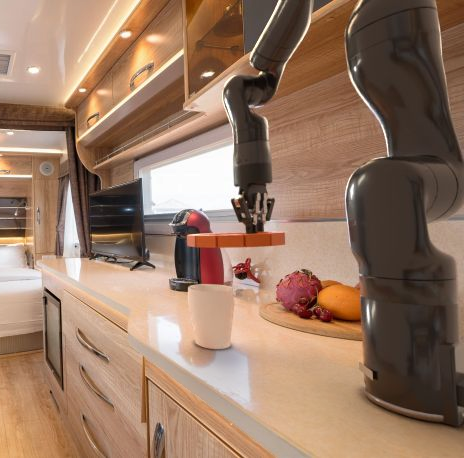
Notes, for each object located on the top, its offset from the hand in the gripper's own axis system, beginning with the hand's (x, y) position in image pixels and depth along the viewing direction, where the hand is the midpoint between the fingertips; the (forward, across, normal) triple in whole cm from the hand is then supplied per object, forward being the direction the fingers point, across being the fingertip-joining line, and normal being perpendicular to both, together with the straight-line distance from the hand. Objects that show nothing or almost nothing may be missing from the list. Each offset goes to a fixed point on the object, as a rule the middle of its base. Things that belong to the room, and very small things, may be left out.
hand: (255, 241), depth 74 cm
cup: (+21, -13, +3) cm, 25 cm away
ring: (0, -8, 0) cm, 8 cm away
